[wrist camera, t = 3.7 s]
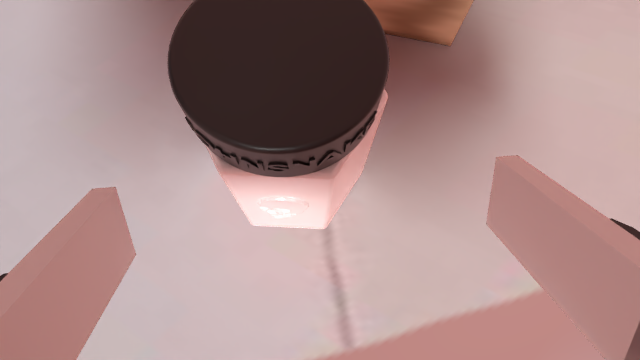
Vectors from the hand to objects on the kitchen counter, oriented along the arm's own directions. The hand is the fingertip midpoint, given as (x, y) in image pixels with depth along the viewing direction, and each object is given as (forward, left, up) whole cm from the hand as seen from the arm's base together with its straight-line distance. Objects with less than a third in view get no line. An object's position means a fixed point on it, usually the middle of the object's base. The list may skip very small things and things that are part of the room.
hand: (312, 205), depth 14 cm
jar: (-2, +5, -11) cm, 12 cm away
